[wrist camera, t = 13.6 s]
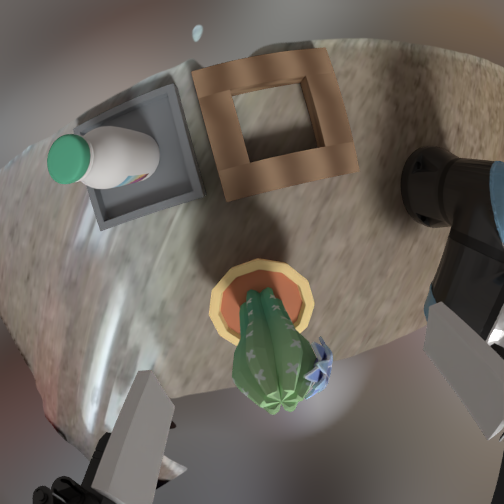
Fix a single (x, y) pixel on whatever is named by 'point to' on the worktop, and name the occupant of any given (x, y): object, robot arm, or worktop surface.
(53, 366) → the worktop surface
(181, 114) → the tray
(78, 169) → the milk bottle
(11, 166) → the worktop surface
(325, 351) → the potted cactus
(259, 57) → the block
